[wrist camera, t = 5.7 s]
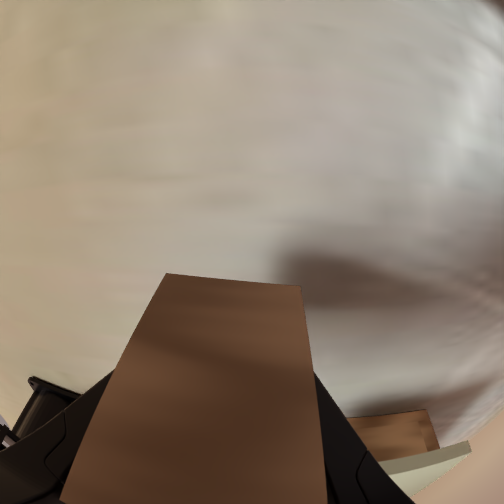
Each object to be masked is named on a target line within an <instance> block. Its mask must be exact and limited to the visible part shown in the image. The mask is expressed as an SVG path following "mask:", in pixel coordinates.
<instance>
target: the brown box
mask: <svg viewBox="0 0 504 504" xmlns="http://www.w3.org/2000/svg"><path fill="white" fill-rule="evenodd" d="M346 419H347V420H348V421H349V423H350V424H351V426H352V427H353V428H354V430H355V431H356V433H357V434H358V435H359V437H360V438H361V440H362V441H363V443H364V444H365V445H366V447H367V450H369V451H370V452H371V454H372V455H373V456H374V458H375V459H376V460H377V462H381V461H387V460H393V459H398V458H403V457H408V456H413V455H417V454H422V453H426V452H430V451H434V450H437V449H440V447H439V444H438V441H437V438H436V435H435V432H434V429H433V426H432V423H431V421H430V418H429V415H428V412H427V410H420V411H413V412H406V413H399V414H391V415H382V416H371V417H358V418H346Z"/></svg>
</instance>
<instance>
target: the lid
mask: <svg viewBox="0 0 504 504" xmlns="http://www.w3.org/2000/svg"><path fill="white" fill-rule="evenodd" d="M471 452H472V450H471V448H470V445H469V442H468V440H467V441H464V442H461V443H458V444H455V445H451V446H448V447H445V448H441V449H437V450H434V451H430V452H426V453H422V454H417V455H413V456H408V457H403V458H398V459H393V460H387V461H381V462H378V463H379V464H380V466H381V467H382V468H383V470H384V471H385V472H386V473H387V474H388V475H389V477H390V478H391V479H392V480H393V481H394V482H395V483H396V484H397V485H398V486H399V487H400V488H401V489H402V490H403V491H404V493H405V494H406V495H407V496H408V497H409V498H410V497H412V496H413V495H415V494H416V493H418V492H419V491H421V490H423V489H424V488H426V487H427V486H429V485H430V484H431V483H433V482H434V481H436V480H437V479H438V478H440V477H441V476H443V475H444V474H445V473H447V472H448V471H449V470H451V469H452V468H453V467H454V466H456V465H457V464H458V463H459V462H461V461H462V460H463V459H464V458H466V457H467V456H468V455H469V454H470V453H471Z"/></svg>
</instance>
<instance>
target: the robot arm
mask: <svg viewBox="0 0 504 504" xmlns="http://www.w3.org/2000/svg"><path fill="white" fill-rule="evenodd" d="M114 370H115V369H114ZM114 370H113V371H112V372H110V373H109V374H108V375H107V376H105V377H104V378H103V379H102V380H100V381H99V382H98V383H97V384H95V385H94V386H93V387H92V388H90V389H89V390H88V391H87V392H85V393H84V394H83V395H82V396H78V395H75V394H73V393H70V392H67V391H64V390H62V389H59V388H57V387H54V386H52V385H49V384H47V383H44V382H42V381H39V380H37V379H35V378H32V377H29V379H28V383H29V384H30V386H31V387H32V389H33V390H34V393H33V394H32V396H31V398H30V399H29V401H28V403H27V404H26V406H25V408H24V409H23V411H22V413H21V415H20V416H19V418H18V420H17V422H16V424H15V425H14V427H13V429H12V431H10V430H9V428H8V427H7V426H6V425H5V424H4V426H2V425H1V424H0V504H65V503H64V502H62V501H61V500H59V499H60V496H61V493H62V490H63V488H64V485H65V482H66V480H67V477H68V474H69V472H70V469H71V467H72V464H73V462H74V459H75V457H76V454H77V452H78V449H79V447H80V445H81V442H82V440H83V437H84V435H85V433H86V430H87V428H88V426H89V424H90V421H91V419H92V417H93V415H94V412H95V410H96V408H97V406H98V404H99V401H100V399H101V397H102V395H103V393H104V391H105V389H106V387H107V384H108V382H109V380H110V378H111V376H112V374H113V372H114ZM313 372H314V371H313ZM314 380H315V387H316V395H317V403H318V411H319V419H320V428H321V437H322V447H323V457H324V467H325V478H326V490H327V503H328V504H415V503H414V502H413V501H412V500H411V499H410V498H409V497H408V496H407V495H406V494H405V493H404V491H403V490H402V489H401V488H400V487H399V486H398V485H397V484H396V483H395V482H394V481H393V480H392V479H391V478H390V477H389V475H388V474H387V473H386V472H385V471H384V470H383V468H382V467H381V466H380V464H379V463H378V462H377V460H376V459H375V458H374V456H373V455H372V454H371V452H370V451H369V450H367V447H366V445H365V444H364V443H363V441H362V440H361V438H360V437H359V435H358V434H357V433H356V431H355V430H354V428H353V427H352V426H351V424H350V423H349V421H348V420H347V419H346V417H345V416H344V414H343V413H342V411H341V410H340V409H339V407H338V406H337V404H336V403H335V401H334V400H333V399H332V397H331V396H330V394H329V393H328V391H327V390H326V388H325V387H324V386H323V384H322V383H321V381H320V380H319V378H318V377H317V376H316V374H315V373H314ZM3 440H4V441H5V442H6V443H8V444H9V445H10V446H9V447H8V448H6V447H5V446H4V445H3V444H2V442H3Z"/></svg>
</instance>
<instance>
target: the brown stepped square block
mask: <svg viewBox="0 0 504 504" xmlns="http://www.w3.org/2000/svg"><path fill="white" fill-rule="evenodd" d="M59 500H61V501H62V502H64V503H65V504H328V503H327V490H326V478H325V467H324V457H323V447H322V437H321V428H320V419H319V411H318V403H317V395H316V387H315V380H314V372H313V365H312V358H311V351H310V344H309V337H308V331H307V324H306V318H305V312H304V305H303V299H302V293H301V287H300V286H294V285H281V284H270V283H258V282H247V281H237V280H226V279H216V278H206V277H197V276H187V275H178V274H169V273H166V274H165V276H164V278H163V280H162V281H161V283H160V285H159V287H158V288H157V290H156V292H155V294H154V296H153V297H152V299H151V301H150V303H149V305H148V306H147V308H146V310H145V312H144V314H143V316H142V318H141V319H140V321H139V323H138V325H137V327H136V329H135V331H134V333H133V334H132V336H131V338H130V340H129V342H128V344H127V346H126V348H125V350H124V352H123V354H122V356H121V358H120V360H119V362H118V364H117V366H116V368H115V370H114V372H113V374H112V376H111V378H110V380H109V382H108V384H107V387H106V389H105V391H104V393H103V395H102V397H101V399H100V401H99V404H98V406H97V408H96V410H95V412H94V415H93V417H92V419H91V421H90V424H89V426H88V428H87V430H86V433H85V435H84V437H83V440H82V442H81V445H80V447H79V449H78V452H77V454H76V457H75V459H74V462H73V464H72V467H71V469H70V472H69V474H68V477H67V480H66V482H65V485H64V488H63V490H62V493H61V496H60V499H59Z"/></svg>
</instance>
